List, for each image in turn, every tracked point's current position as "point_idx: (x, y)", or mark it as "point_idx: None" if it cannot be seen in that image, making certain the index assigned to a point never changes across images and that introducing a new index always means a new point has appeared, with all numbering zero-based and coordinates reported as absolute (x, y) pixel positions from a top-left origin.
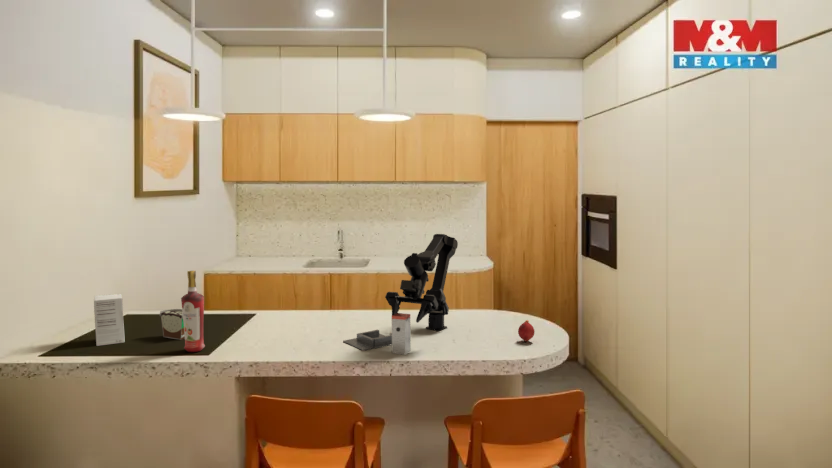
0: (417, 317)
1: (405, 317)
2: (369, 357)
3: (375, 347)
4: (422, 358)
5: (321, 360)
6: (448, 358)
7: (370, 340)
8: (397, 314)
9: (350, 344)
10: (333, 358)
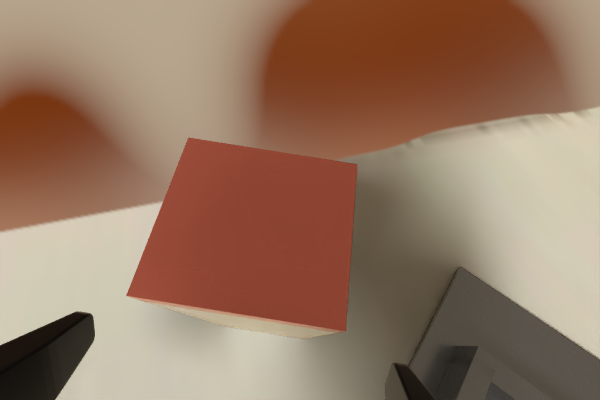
0: (44, 339)
1: (186, 153)
2: (383, 187)
3: (428, 330)
4: (149, 220)
5: (525, 126)
6: (13, 246)
7: (491, 358)
8: (310, 237)
9: (584, 352)
10: (504, 151)
